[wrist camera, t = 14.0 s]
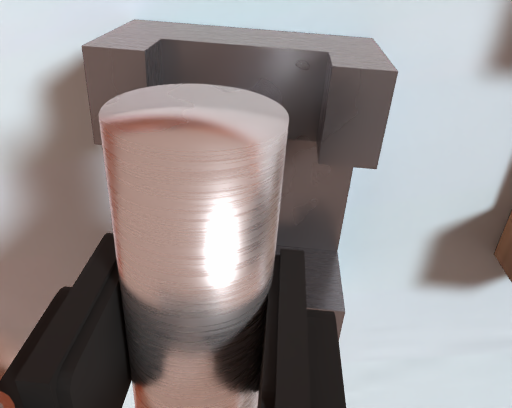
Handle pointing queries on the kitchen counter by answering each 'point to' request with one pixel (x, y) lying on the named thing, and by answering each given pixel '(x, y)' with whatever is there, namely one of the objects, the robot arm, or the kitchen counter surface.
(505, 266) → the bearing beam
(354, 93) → the V-block
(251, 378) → the steel axle
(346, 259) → the kitchen counter surface
